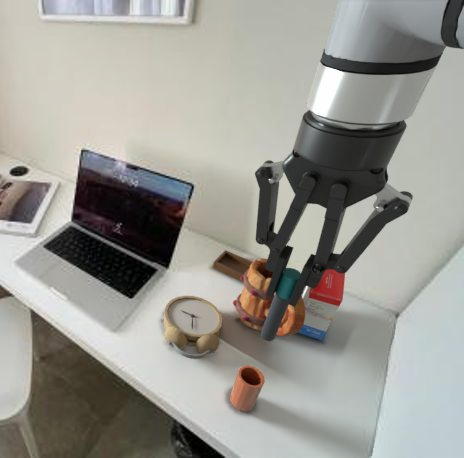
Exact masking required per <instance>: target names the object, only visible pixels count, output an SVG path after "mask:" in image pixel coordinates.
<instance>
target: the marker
mask: <svg viewBox="0 0 464 458" xmlns="http://www.w3.org/2000/svg"><path fill="white" fill-rule="evenodd" d="M300 274H301V271H299V270H298V269H295V268H292V267H286V268H285V269H284V270H283V272H282V275H281V277H280V280H279V283H278V286H277V288H276V291H275V292H276V293H275V296H274V299H273V301H272V304H271V307H270V309H269V312H268V315H267V318H266V320H265V323H264V326H263V328H262V331H260V337H261V338H262V339H263V340H265V341H267V342H272V341H275V338H276V337H277V335H276V334H277V332H278V329H279V327H280V324H281V322H282V320H283V317H284V315H285V312H286V310H287V307H288V305H289V301H290V299H291V296H292V294H293V291H294V289H295V287H296V284H297V282H298V279H299V277H300Z"/></svg>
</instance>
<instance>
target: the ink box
mask: <svg viewBox="0 0 464 458" xmlns="http://www.w3.org/2000/svg"><path fill="white" fill-rule="evenodd" d="M345 280H346V273H343V274H342V273H338V272H336V271H335V270H331V269H329V270H326V271H325V272H324V274H323V277H322V279H321V281H320V283H319V284H318V286H317V287H316V288H314V289H313V288H311V287H308V286H306V287H305V289H304V291H303V293H302V295H301V296H302V298H303V300H304V306H305V320H304V325H303V326H302V328H301V329H300V330H299V331H298V332H297V333H298V334H301V335H304V336H307V337H310V338H313V339H316V340H318V341H322V340H323V338H324V336H325V335H326V333H327V331H328V329H329V327H330V325H331V323H332V322H333V319H334V317H335V315H336V313H337V311H338V310H339V308H340V307H341V304H342V302H343V299H344V289H345Z"/></svg>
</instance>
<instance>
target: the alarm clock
mask: <svg viewBox="0 0 464 458" xmlns="http://www.w3.org/2000/svg"><path fill="white" fill-rule="evenodd" d="M221 314H222V313H221V311H219V309H218V308H217V306H215V305H214V304H213V303H212V302H210V301H209V300H207V299H205V298H202V297H199V296H195V295H179V296H177V297H174V298H172V299H170V300H169V302H167V304H166V305H165V308H164V314H163V315H164V316H163V327H164V329H165V331H164V334H163V335H164V339H165V341H166V343H167V345H169V346H170V347H172V348H173V349H174V350H175V351H176V352H177V353H178V354H179V355H181V356H182V357H185V358H187V359H191V360H192V359H193V360H199V359H202V358H205V357H206V356H207V355H211V354H214V353H215V352H216V351H217V350H218V349H219V347H220V339H219V337H220V333H221V328H222V323H223V317H222V315H221ZM186 346H188V347H191V348H195V349H196V350H197V352H198V353H199V354H193V353H188V352H185V351H183V350H182V349H183V348H185V347H186Z"/></svg>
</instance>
